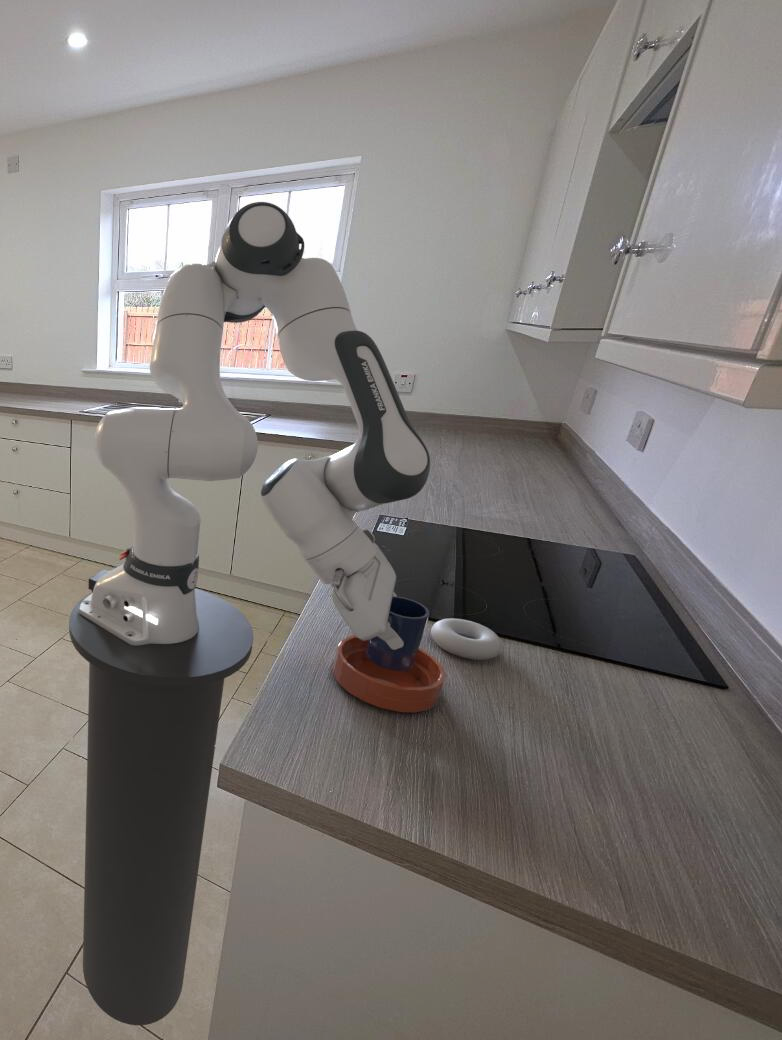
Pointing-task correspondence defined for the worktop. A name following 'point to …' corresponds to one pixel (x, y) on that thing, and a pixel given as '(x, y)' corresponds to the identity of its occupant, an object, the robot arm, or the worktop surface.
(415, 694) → the bowl
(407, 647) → the cup
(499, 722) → the worktop surface
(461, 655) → the donut
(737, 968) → the worktop surface
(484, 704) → the worktop surface
